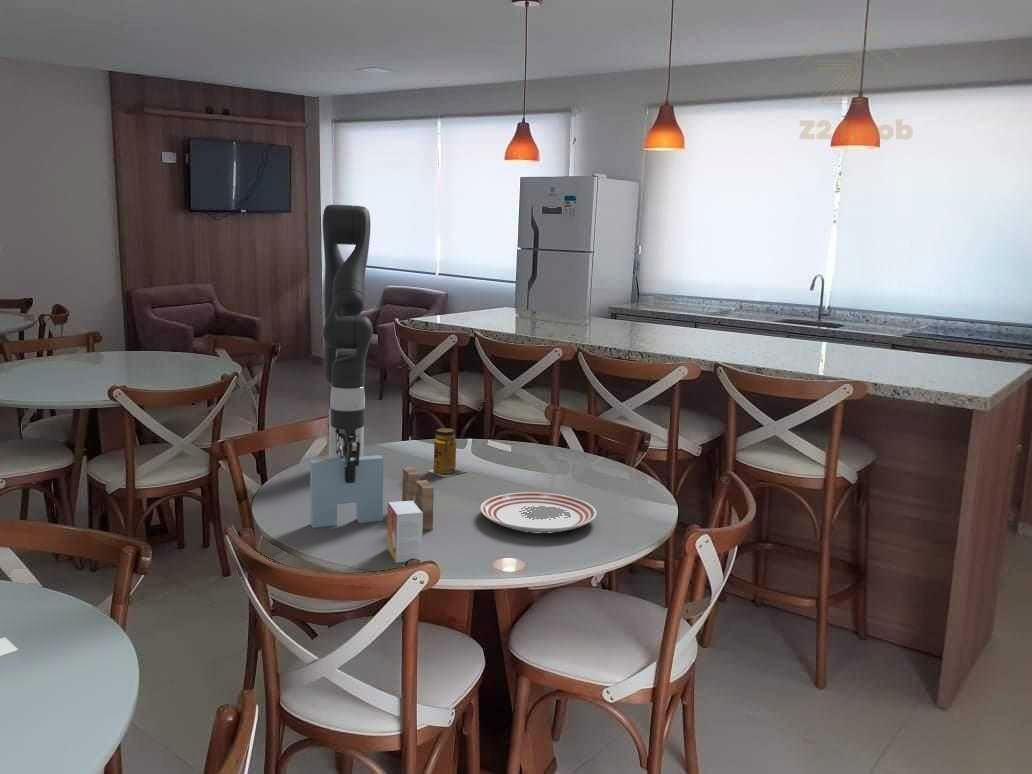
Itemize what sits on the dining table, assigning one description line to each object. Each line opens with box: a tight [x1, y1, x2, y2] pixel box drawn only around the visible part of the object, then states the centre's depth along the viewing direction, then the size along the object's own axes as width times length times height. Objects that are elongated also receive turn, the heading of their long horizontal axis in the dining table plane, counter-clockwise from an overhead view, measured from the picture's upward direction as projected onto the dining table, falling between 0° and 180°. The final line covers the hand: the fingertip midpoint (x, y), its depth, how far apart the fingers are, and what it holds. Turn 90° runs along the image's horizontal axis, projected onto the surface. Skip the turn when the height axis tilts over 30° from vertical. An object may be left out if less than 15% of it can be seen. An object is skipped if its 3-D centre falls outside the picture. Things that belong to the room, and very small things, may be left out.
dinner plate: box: [479, 491, 597, 534], centre depth 208 cm, size 27×27×3 cm
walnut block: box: [401, 466, 435, 532], centre depth 204 cm, size 16×2×10 cm, turn 24°
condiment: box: [427, 427, 468, 478], centre depth 241 cm, size 7×8×12 cm
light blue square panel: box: [309, 454, 385, 529], centre depth 199 cm, size 2×16×15 cm, turn 114°
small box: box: [386, 500, 423, 564], centre depth 183 cm, size 8×6×10 cm
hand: (347, 478), depth 198 cm, fingers open, 5 cm apart
